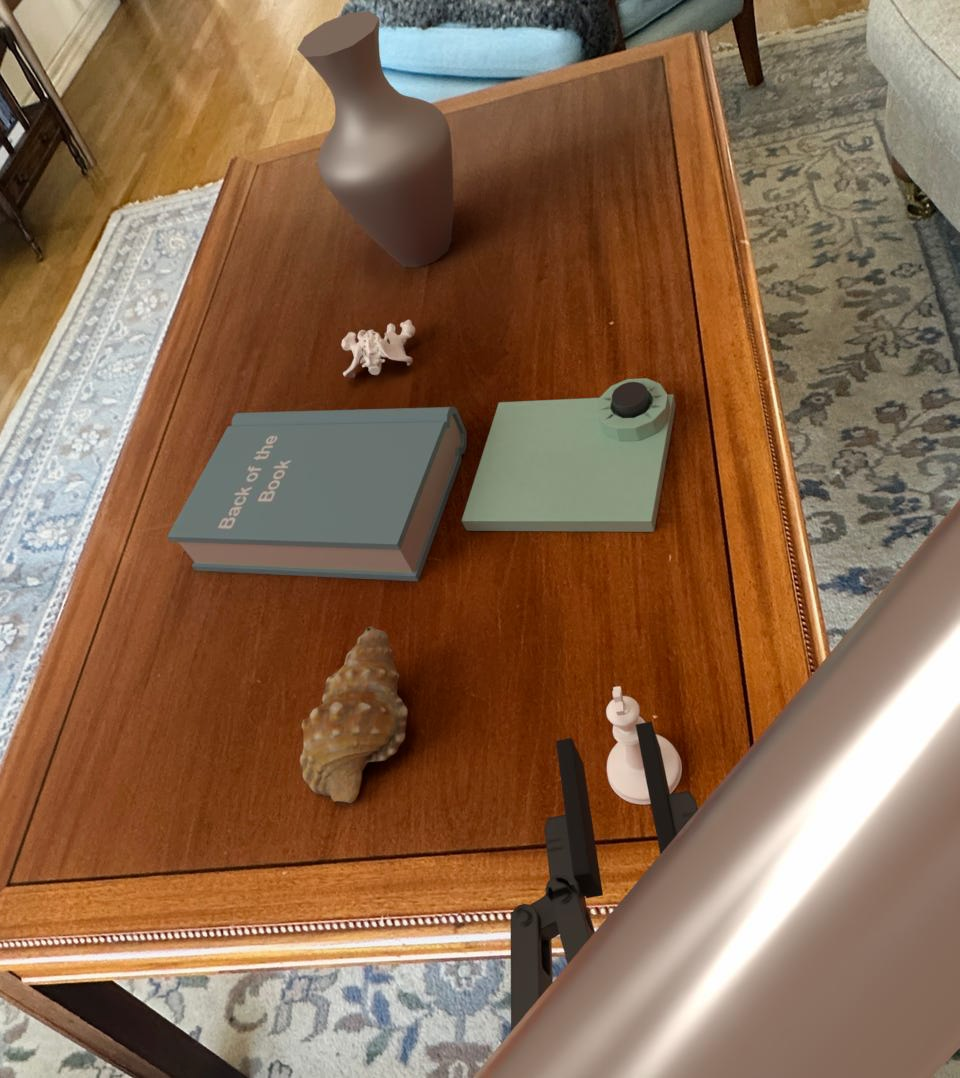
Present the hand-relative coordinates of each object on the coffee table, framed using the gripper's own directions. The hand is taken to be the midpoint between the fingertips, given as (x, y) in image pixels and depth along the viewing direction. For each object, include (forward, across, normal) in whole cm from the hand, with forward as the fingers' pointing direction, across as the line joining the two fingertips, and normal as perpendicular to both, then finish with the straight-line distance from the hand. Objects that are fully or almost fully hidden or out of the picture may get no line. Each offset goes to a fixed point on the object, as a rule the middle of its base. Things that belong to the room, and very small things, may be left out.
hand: (609, 745), depth 47 cm
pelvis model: (+58, -18, -18) cm, 63 cm away
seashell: (+15, -20, -18) cm, 31 cm away
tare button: (+39, +5, -15) cm, 42 cm away
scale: (+36, -1, -18) cm, 41 cm away
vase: (+76, -14, -18) cm, 79 cm away
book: (+39, -23, -18) cm, 49 cm away
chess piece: (+8, 0, -18) cm, 20 cm away
